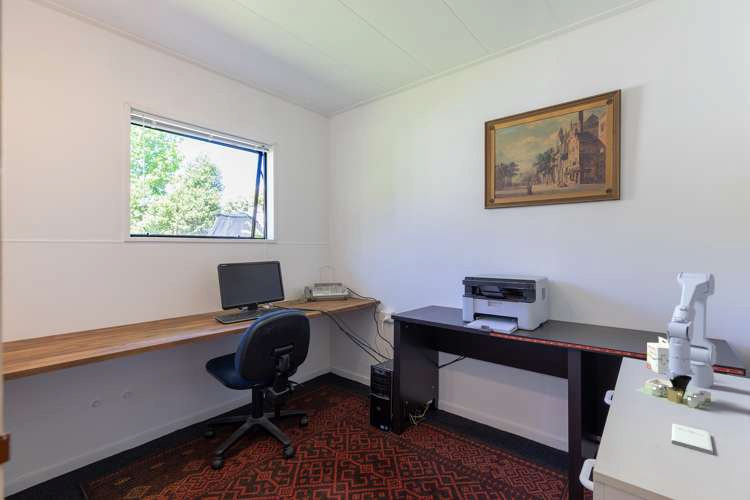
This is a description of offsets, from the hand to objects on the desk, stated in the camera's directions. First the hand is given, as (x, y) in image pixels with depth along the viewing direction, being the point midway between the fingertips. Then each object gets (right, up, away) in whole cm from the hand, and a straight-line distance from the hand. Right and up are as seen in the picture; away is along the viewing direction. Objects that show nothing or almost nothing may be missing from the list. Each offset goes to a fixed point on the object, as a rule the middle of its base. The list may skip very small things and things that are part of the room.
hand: (679, 395), depth 123 cm
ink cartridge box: (+16, -2, +29) cm, 33 cm away
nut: (-3, -1, -2) cm, 3 cm away
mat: (+1, -2, +4) cm, 4 cm away
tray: (+2, -1, +10) cm, 10 cm away
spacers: (+1, -1, 0) cm, 1 cm away
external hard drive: (-18, -3, -25) cm, 31 cm away
